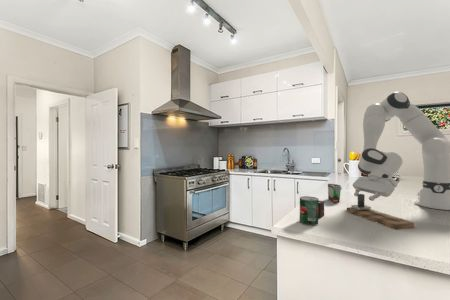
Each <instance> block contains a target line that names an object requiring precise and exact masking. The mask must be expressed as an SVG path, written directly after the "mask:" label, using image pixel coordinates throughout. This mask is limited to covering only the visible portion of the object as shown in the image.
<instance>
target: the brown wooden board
mask: <svg viewBox="0 0 450 300" xmlns="http://www.w3.org/2000/svg"><path fill="white" fill-rule="evenodd" d="M346 212H348V213H350V214H353V215H354V216H355V215H356V216H358V217H360V216H361V218H363V219H366V220H368V221H370V222H371V221H372V222H373V223H377V224H380V225H382V226H384V227H388V228H389V229H390V228H391V229H393V230H403V229H411V228H412V229H414V228H415V222H413V221H410V220H406V219H403V218H401V217H397V216H395V215H391V214H387V213H385V212H382V211H378V210H374V209H372V208H371V209H367V210H357V209H354V208H352V207H351V206H350V207H346ZM413 227H414V228H413Z"/></svg>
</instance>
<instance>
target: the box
mask: <svg viewBox="0 0 450 300" xmlns="http://www.w3.org/2000/svg"><path fill="white" fill-rule="evenodd" d="M323 217H325V201H324V200H320V199H319V200H318V219H322V218H323Z"/></svg>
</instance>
